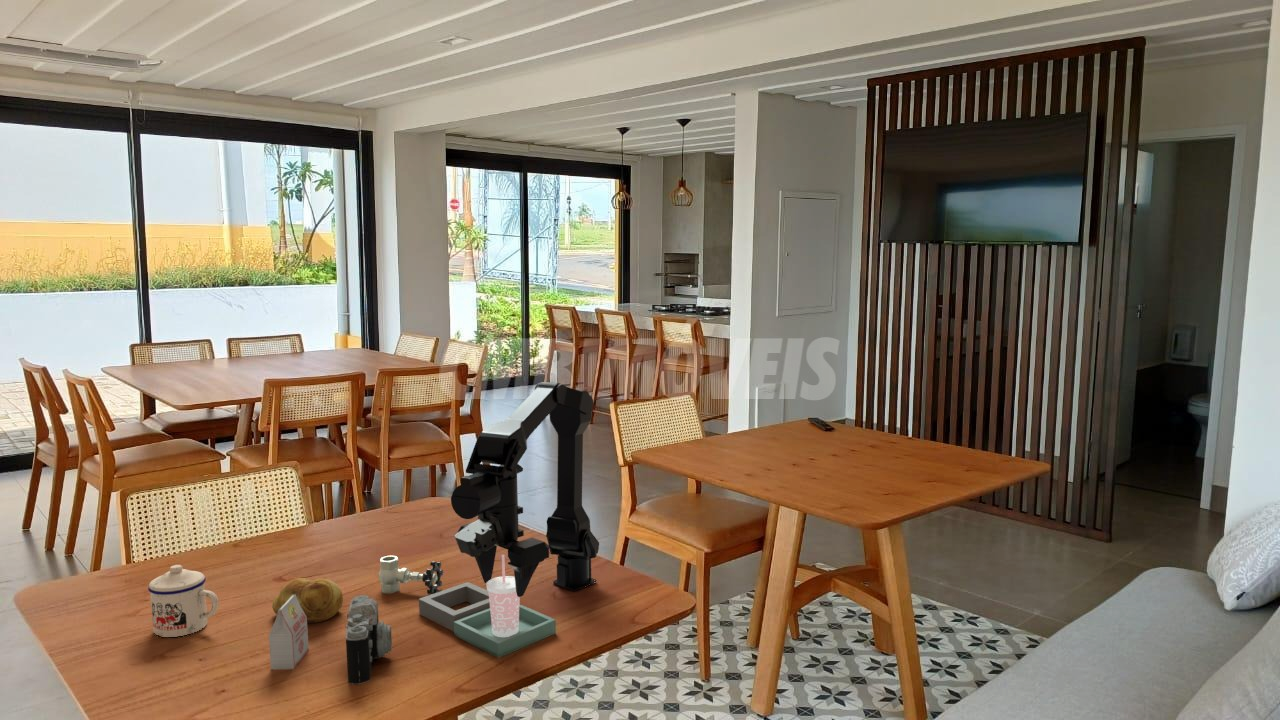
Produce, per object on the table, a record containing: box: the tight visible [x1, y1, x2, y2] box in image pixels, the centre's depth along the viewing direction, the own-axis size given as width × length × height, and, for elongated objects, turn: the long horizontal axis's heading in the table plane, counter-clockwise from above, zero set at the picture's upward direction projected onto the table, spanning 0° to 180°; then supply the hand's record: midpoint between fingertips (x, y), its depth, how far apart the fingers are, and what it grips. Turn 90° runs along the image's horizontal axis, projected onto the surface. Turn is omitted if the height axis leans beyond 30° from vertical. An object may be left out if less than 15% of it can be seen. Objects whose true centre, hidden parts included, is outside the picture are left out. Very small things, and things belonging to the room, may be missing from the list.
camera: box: [345, 594, 393, 685], centre depth 145 cm, size 15×7×10 cm, turn 14°
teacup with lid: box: [148, 564, 219, 637], centre depth 158 cm, size 12×9×12 cm
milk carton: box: [268, 594, 309, 670], centre depth 146 cm, size 4×7×10 cm, turn 1°
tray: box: [453, 603, 557, 659], centre depth 155 cm, size 13×13×2 cm
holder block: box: [418, 581, 490, 632], centre depth 164 cm, size 11×11×3 cm
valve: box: [378, 555, 444, 595], centre depth 175 cm, size 7×7×12 cm
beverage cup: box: [485, 554, 521, 637], centre depth 154 cm, size 6×6×14 cm
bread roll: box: [272, 577, 344, 624], centre depth 164 cm, size 13×10×8 cm
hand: (503, 589), depth 154 cm, fingers open, 9 cm apart
